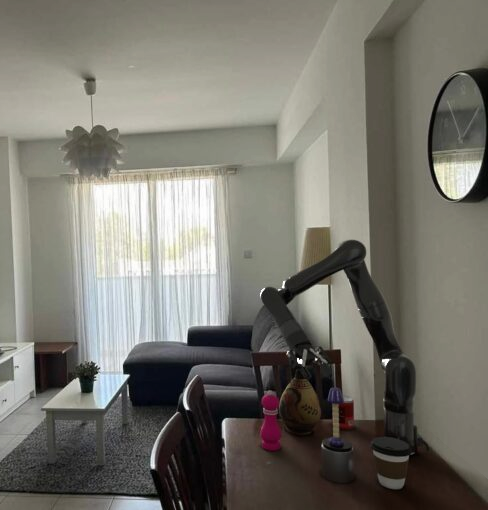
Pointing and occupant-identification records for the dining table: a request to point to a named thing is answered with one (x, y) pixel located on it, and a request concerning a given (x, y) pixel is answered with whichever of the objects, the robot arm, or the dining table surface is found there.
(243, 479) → the dining table surface
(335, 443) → the toy lamp
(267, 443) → the pepper mill
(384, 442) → the coffee cup
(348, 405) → the canned food
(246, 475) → the dining table surface
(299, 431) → the ceramic jug
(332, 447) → the grey metal canister
